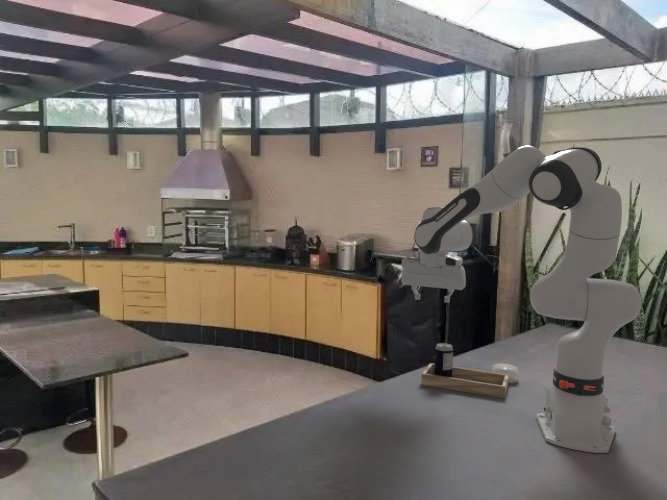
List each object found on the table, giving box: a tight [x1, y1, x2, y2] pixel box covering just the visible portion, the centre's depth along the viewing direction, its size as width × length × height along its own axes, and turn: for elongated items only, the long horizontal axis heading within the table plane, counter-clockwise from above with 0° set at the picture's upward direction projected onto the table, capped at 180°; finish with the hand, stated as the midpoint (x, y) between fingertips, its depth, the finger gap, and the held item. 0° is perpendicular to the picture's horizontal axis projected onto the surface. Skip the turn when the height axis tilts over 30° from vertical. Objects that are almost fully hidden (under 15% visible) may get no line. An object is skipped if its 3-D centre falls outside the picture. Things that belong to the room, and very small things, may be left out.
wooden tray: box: [420, 362, 509, 399], centre depth 165 cm, size 12×25×4 cm, turn 67°
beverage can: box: [433, 342, 454, 378], centre depth 167 cm, size 6×6×12 cm
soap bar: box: [492, 363, 519, 384], centre depth 171 cm, size 8×8×4 cm
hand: (432, 300), depth 168 cm, fingers open, 8 cm apart
